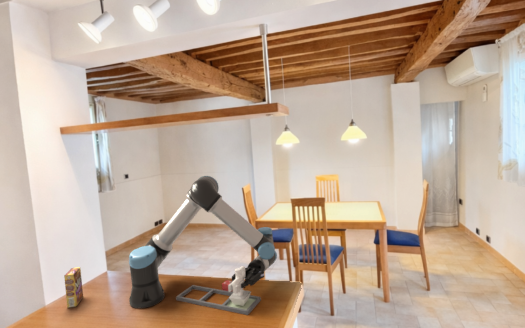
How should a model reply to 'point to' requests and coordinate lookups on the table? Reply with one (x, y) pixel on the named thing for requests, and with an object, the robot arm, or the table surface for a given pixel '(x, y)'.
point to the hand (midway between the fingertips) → (232, 289)
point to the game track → (225, 306)
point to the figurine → (242, 295)
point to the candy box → (73, 287)
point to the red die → (226, 285)
